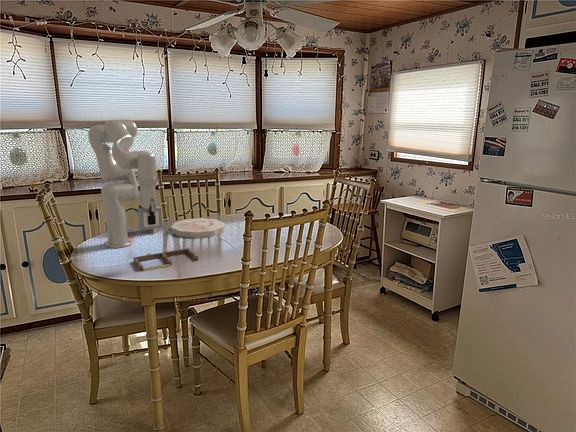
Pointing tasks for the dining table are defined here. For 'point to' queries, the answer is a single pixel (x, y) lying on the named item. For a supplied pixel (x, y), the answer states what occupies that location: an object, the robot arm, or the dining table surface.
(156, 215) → the pale gray rectangular prism
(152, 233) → the coffee box
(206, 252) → the dining table surface
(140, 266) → the frame
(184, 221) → the decorative plaque
